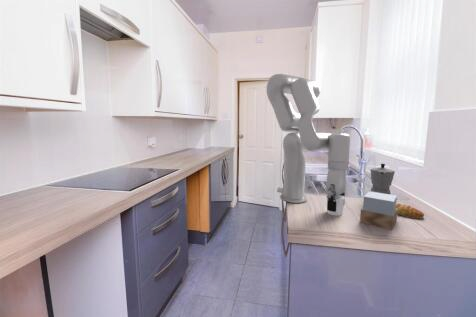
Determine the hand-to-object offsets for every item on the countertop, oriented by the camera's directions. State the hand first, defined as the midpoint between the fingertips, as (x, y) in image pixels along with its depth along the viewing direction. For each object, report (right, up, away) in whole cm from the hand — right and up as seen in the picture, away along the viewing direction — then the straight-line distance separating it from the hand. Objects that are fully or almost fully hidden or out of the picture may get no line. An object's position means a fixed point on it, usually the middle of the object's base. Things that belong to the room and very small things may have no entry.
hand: (336, 207), depth 95 cm
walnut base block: (+12, -4, -8) cm, 15 cm away
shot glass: (0, -2, +1) cm, 3 cm away
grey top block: (+12, +1, -9) cm, 15 cm away
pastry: (+28, -3, 0) cm, 28 cm away
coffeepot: (+26, -1, +15) cm, 30 cm away
